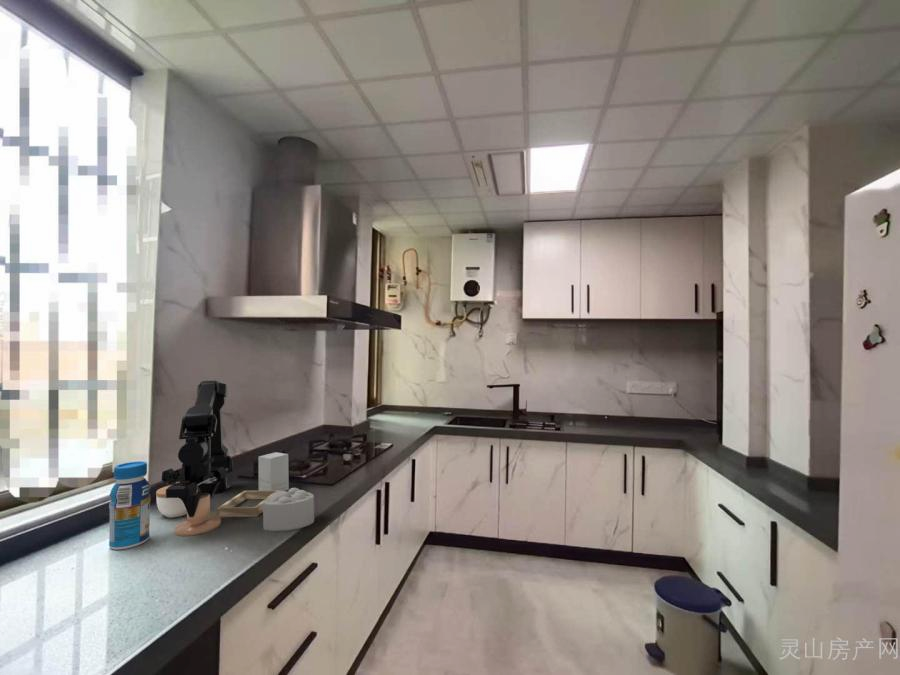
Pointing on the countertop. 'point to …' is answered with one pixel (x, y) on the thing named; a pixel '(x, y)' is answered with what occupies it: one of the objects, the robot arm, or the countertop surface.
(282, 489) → the supplement box
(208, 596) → the countertop surface
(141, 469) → the beverage bottle
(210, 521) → the terracotta saucer
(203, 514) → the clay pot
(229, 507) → the wooden frame
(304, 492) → the lumpy-topped squat cylinder
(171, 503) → the lidded jar
